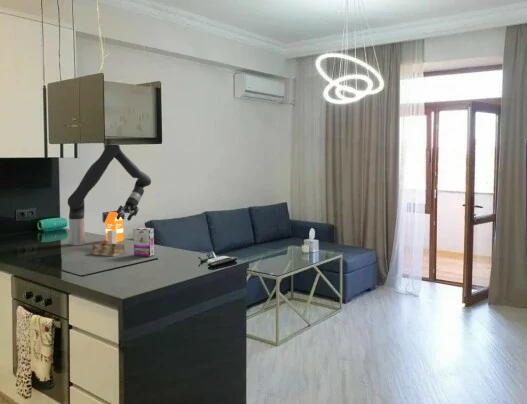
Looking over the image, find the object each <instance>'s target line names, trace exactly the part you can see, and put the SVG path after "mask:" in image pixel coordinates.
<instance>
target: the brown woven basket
mask: <svg viewBox="0 0 527 404" xmlns="http://www.w3.org/2000/svg"><path fill="white" fill-rule="evenodd" d="M91 247H92V249H91V250H92V251H90V255H95V256H96V255H97V256H104V257H106V256H107V257H116V256H119V255H120V256H121V255H124V254H126V253H127V251H126V250H125V244H123V243H122V244H121V243H117V244H113V243H108V242H100V243H96V244H93V245H92V246H91Z"/></svg>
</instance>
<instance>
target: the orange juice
mask: <svg viewBox="0 0 527 404" xmlns="http://www.w3.org/2000/svg"><path fill="white" fill-rule="evenodd" d="M117 215H118V214H117V211H109V212H108V214H107V216H106V218H105V242H108V236H107V231H109V230H117V243H120V242H123V241H124V219H123V218H122V216H121V217H120V219H119V220H117V218H116V217H117Z"/></svg>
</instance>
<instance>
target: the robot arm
mask: <svg viewBox="0 0 527 404" xmlns="http://www.w3.org/2000/svg"><path fill="white" fill-rule="evenodd" d="M103 148H104V149H103V152H102V153H101V154H100V156H99V158H98V159H96V160H95V162H93V163H92V164H91V165H90V167H88V169H87V171H86V172H85V174H84V176H83V177H82V179H81V180H80V183H79V184H78V186H77V188H76V189H75V190H74V191H73V192H72V194H71V195H70V196H69V197H68V198H67V205H68V207H69V213H68V225H69V227H68V228H69V229H68V234H67V235H68V237H67V238H68V245H70V246H83V245H85V244H86V236H85V235H86V234H85V233H86V232H85V198H86V197H87V195H88V194H89V192H90V191H91V190H92V189H93V188H94V187H95V186H96V185H97V184H98V183H99V181H101V178H102V176H103V175H104V173H105V172H106V170H107V169H108V167H109V165H110V163H111V162H112V161H113V160H114V158H115V160H116V161H117V162H118V163H119V164H120V165H121V167H122V168H123V169H124V170H125V172H127V173H128V175H130V177H132V179H136V181H135V183H134V186H133V189H132V191H131V193H130V194H129V196H128V197H127V199H126V201H125V204H124V205H123V206H122V205H120V206H119V207H118V208H117V210H116V212H117V214H118V215H117V217H116V218H117V220H119V219H120V217H121V218H122V216H123V215H125V214H129V215H128V216H127V221H129V222H130V221H131V220H132V218H133V217H136V216H137V214H138V212H139V210H140V208H139V207H138V205H139V203H140V201H141V199H142V197H143V195H144V193H145V190H144V188H146V187H148V186H150V185H151V183H152V180H151V178H150V176H149V175H148V174H146V173H145V172H144V171H142V170H140V169H139V167H138V166H137V165H136V164H135V163H134V162H133V161H132V160H131V159H130V158H129V157H127V156H126V154H125V153H124V152H123V151H122V149H121V146H120V144H119V145H103Z"/></svg>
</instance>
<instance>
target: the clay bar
mask: <svg viewBox="0 0 527 404" xmlns="http://www.w3.org/2000/svg"><path fill="white" fill-rule="evenodd" d="M107 236H108V241H107V243H113V244H118V242H117V230H109V231H107Z"/></svg>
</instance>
